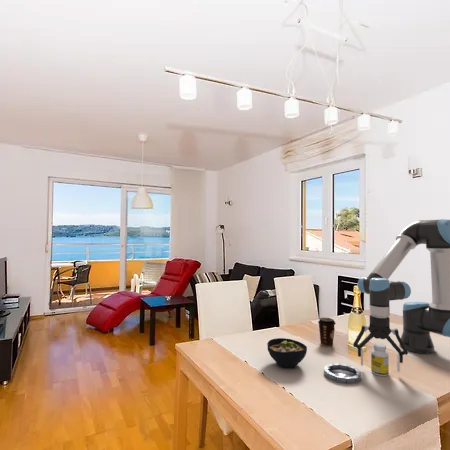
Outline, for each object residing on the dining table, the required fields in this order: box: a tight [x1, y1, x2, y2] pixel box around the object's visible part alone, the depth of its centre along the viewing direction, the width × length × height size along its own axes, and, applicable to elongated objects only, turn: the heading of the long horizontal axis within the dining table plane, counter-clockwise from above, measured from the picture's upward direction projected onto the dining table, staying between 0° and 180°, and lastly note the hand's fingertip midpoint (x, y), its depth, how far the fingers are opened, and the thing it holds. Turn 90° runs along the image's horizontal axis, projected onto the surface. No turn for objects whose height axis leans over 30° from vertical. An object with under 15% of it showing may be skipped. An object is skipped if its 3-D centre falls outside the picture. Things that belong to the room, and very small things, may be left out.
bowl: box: [266, 337, 308, 370], centre depth 139 cm, size 17×17×10 cm
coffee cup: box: [317, 317, 336, 347], centre depth 166 cm, size 9×8×13 cm
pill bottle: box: [370, 342, 390, 377], centre depth 131 cm, size 6×6×12 cm
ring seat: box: [323, 363, 362, 385], centre depth 129 cm, size 14×14×2 cm
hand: (379, 367), depth 131 cm, fingers open, 13 cm apart
